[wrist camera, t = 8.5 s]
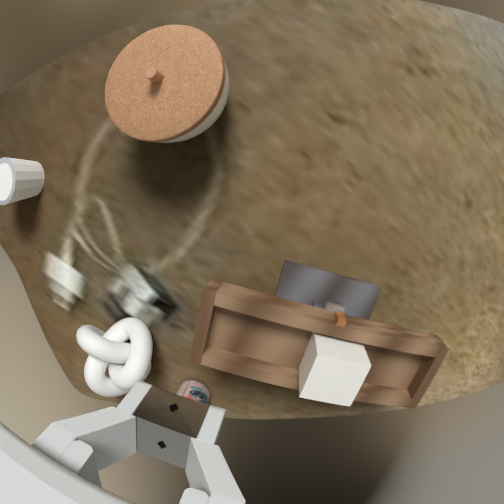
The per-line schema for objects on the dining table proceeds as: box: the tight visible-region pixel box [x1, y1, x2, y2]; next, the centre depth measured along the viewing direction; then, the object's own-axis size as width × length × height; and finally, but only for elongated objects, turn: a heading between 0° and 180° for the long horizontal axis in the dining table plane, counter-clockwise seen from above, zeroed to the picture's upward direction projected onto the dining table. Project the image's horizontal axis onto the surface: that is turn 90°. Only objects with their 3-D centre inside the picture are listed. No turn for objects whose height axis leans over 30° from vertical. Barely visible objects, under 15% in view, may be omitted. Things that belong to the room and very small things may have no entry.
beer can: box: [176, 381, 210, 404], centre depth 37 cm, size 5×5×12 cm
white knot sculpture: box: [76, 317, 153, 397], centre depth 38 cm, size 11×12×9 cm
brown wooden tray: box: [190, 260, 449, 408], centre depth 33 cm, size 25×12×10 cm, turn 76°
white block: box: [299, 332, 371, 406], centre depth 27 cm, size 5×5×5 cm
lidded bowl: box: [105, 25, 229, 143], centre depth 29 cm, size 13×13×11 cm
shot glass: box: [0, 157, 45, 205], centre depth 35 cm, size 7×7×7 cm
